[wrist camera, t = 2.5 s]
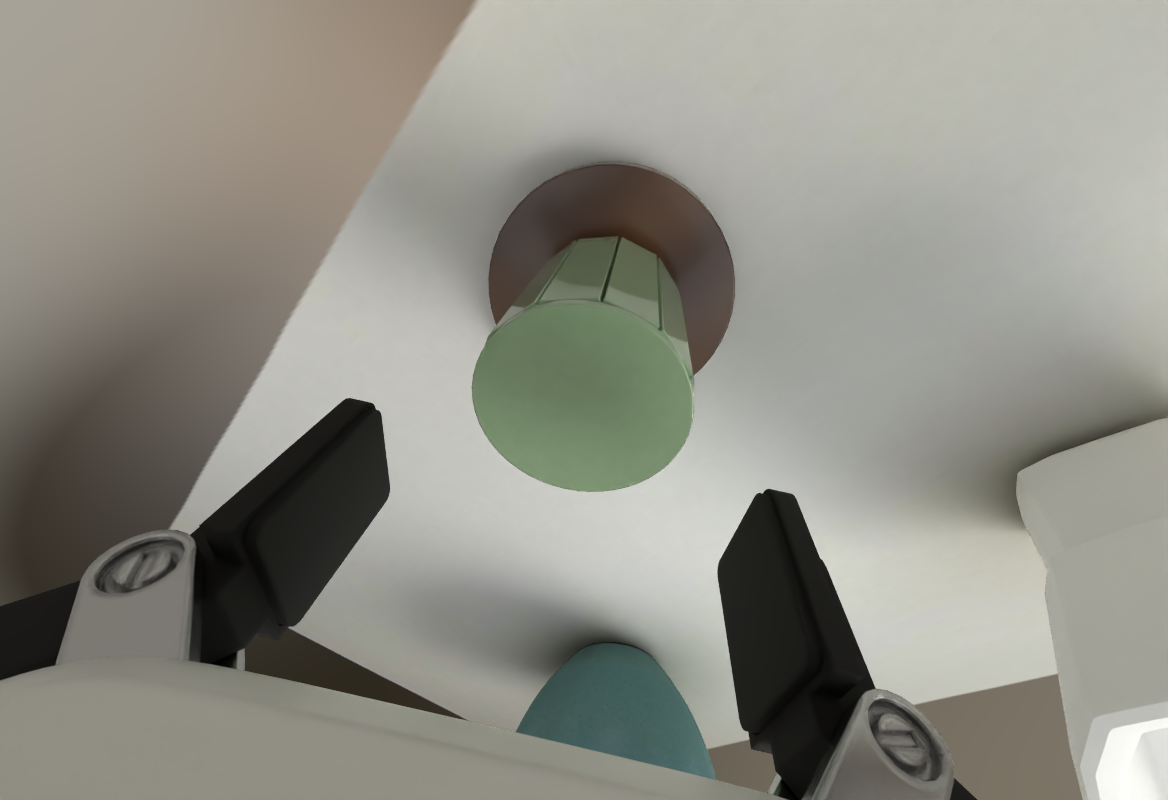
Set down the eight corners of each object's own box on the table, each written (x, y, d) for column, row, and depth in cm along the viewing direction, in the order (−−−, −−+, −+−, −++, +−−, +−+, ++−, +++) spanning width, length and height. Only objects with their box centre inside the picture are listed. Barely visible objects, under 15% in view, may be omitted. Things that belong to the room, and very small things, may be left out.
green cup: (503, 292, 20) (426, 378, 13) (627, 202, 17) (610, 252, 10) (587, 399, 22) (559, 515, 16) (706, 335, 19) (735, 444, 13)
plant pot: (498, 661, 45) (454, 816, 35) (588, 585, 36) (562, 767, 26) (637, 721, 49) (633, 879, 39) (752, 667, 39) (787, 856, 29)
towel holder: (450, 260, 22) (320, 348, 13) (650, 95, 17) (647, 63, 9) (583, 422, 27) (549, 566, 18) (770, 327, 22) (850, 461, 13)
